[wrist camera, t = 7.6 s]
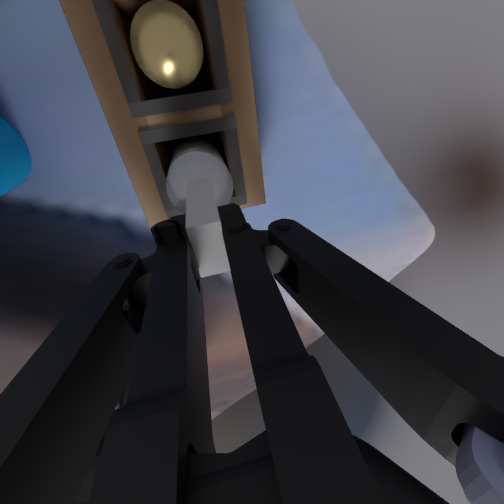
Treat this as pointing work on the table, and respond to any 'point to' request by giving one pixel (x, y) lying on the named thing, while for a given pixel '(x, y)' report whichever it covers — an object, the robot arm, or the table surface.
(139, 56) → the brass peg
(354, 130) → the table surface
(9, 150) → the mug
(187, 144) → the steel peg
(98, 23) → the socket block
